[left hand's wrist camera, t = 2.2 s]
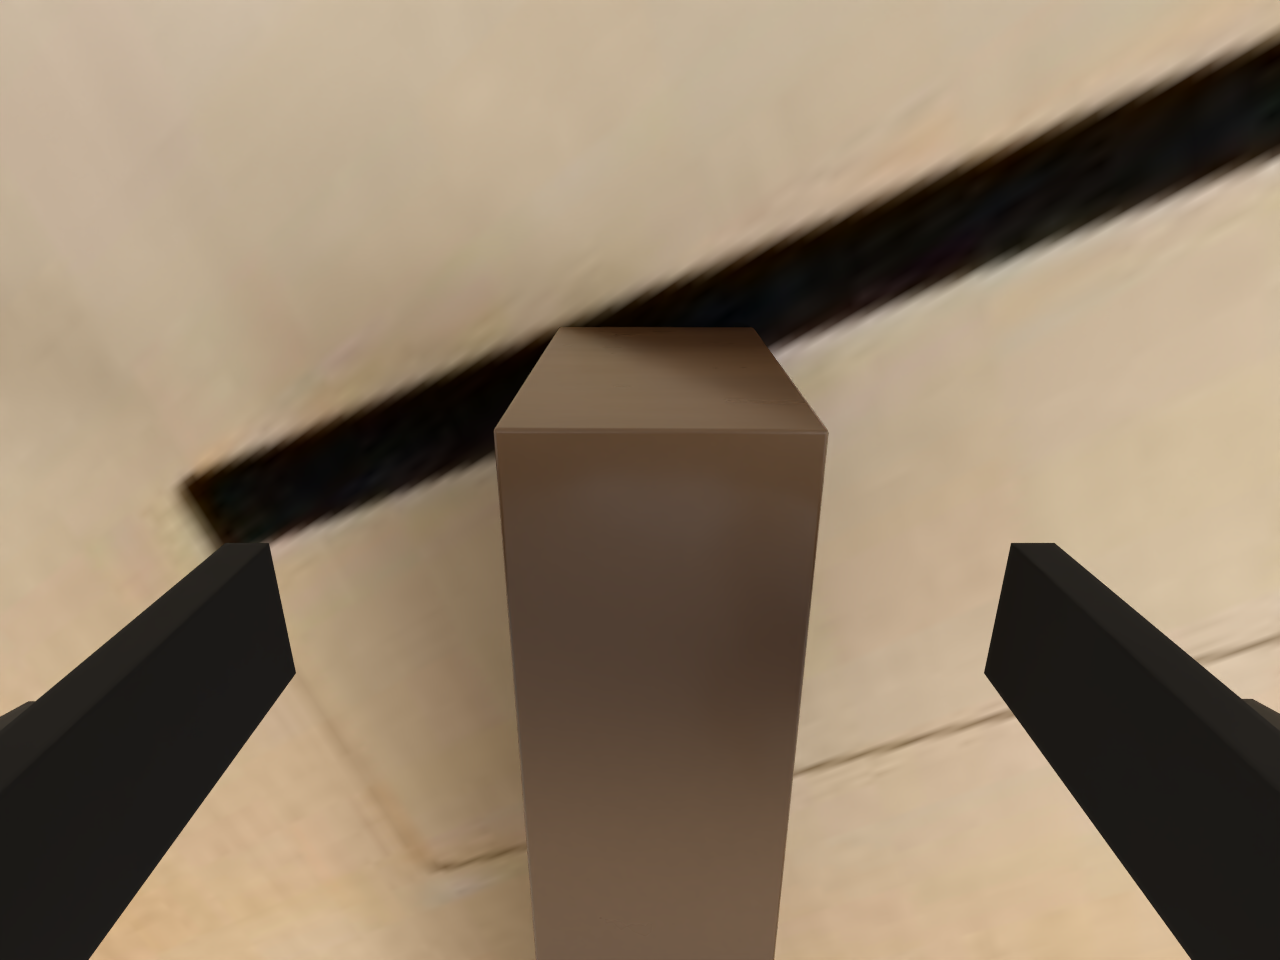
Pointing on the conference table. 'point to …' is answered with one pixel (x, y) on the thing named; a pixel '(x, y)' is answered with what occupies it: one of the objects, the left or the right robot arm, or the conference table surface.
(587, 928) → the bar
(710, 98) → the conference table surface
